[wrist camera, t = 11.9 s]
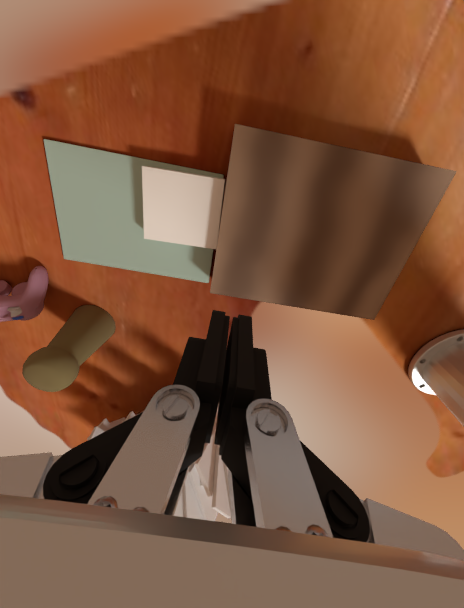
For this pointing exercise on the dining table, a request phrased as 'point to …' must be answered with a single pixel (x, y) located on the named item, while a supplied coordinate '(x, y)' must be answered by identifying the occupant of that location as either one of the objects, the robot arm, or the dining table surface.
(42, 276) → the video game controller
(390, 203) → the board
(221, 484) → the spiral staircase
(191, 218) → the tile
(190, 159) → the dining table surface
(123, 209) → the mat
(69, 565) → the robot arm
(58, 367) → the cork
